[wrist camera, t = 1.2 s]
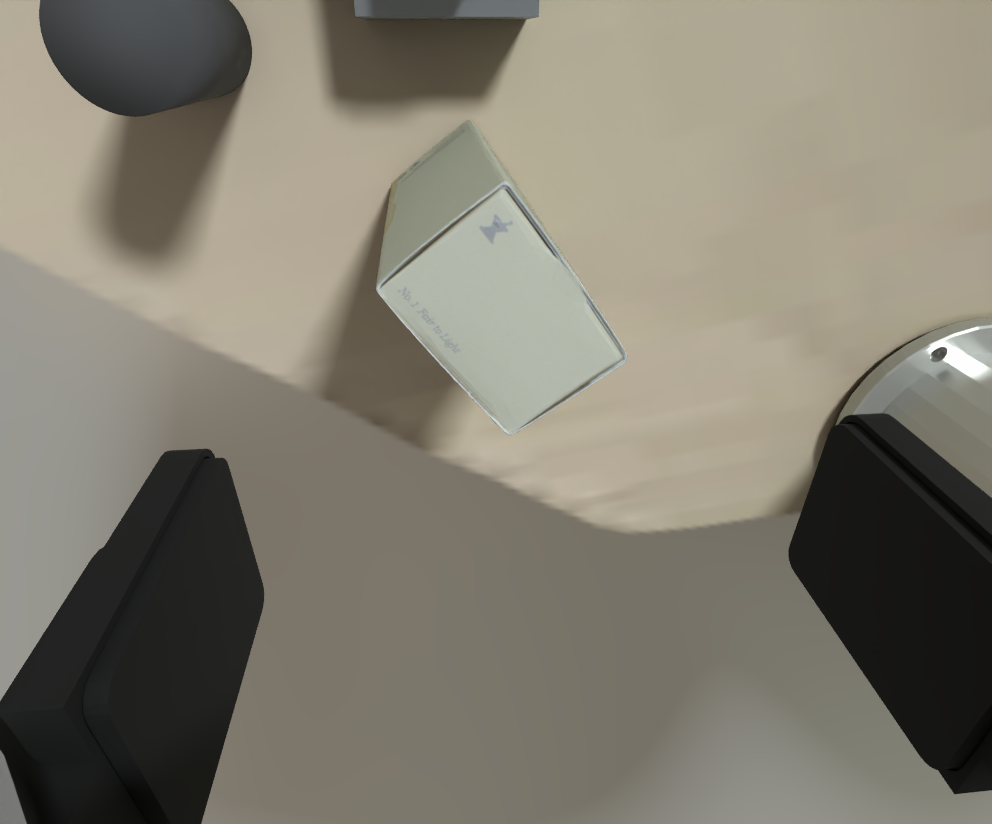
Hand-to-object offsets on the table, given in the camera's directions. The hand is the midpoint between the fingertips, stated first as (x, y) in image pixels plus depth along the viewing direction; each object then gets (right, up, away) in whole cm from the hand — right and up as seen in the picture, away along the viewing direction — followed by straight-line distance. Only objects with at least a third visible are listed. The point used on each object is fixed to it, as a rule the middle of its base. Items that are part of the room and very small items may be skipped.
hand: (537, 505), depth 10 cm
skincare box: (-2, +10, +17) cm, 20 cm away
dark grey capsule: (-11, +15, +13) cm, 23 cm away
